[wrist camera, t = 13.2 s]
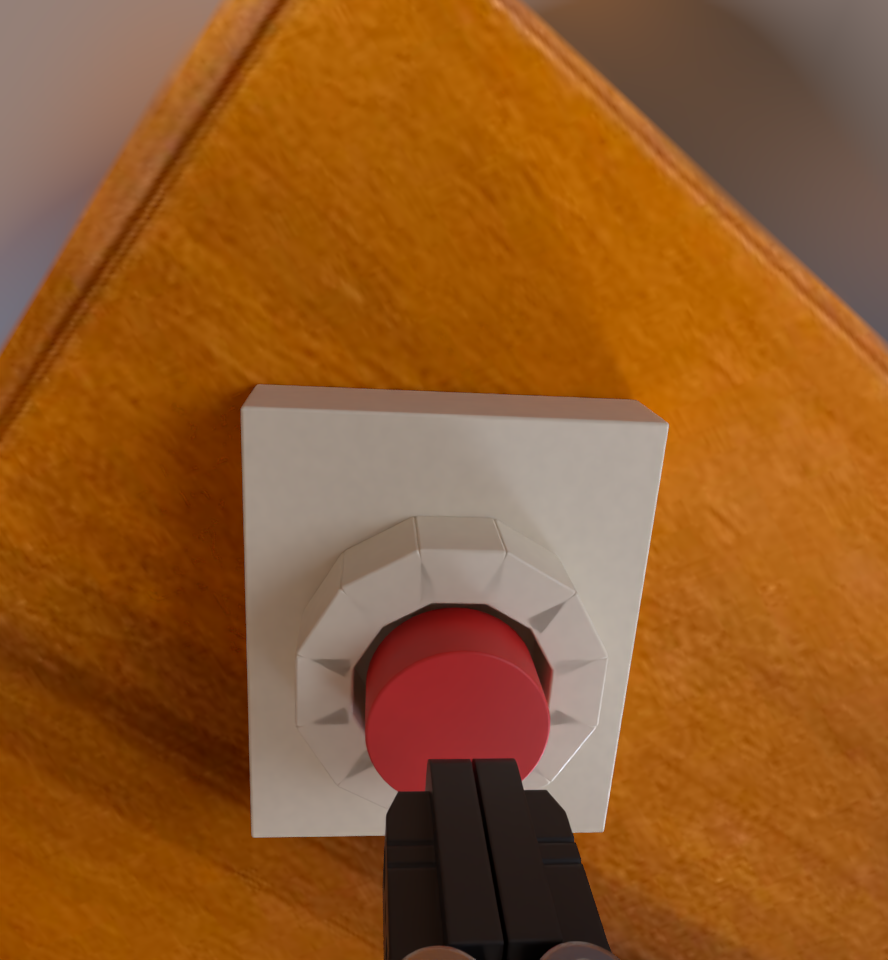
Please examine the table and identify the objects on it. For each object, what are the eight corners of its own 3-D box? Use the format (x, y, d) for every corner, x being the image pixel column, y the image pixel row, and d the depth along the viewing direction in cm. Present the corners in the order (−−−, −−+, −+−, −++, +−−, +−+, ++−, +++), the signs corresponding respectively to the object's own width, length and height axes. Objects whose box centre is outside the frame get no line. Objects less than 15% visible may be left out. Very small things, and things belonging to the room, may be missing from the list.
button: (368, 604, 16) (367, 651, 14) (541, 607, 16) (561, 652, 14) (363, 751, 17) (362, 810, 15) (525, 750, 17) (541, 807, 16)
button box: (255, 383, 18) (223, 430, 14) (637, 399, 19) (705, 447, 15) (262, 777, 21) (238, 900, 17) (583, 775, 22) (625, 891, 18)
